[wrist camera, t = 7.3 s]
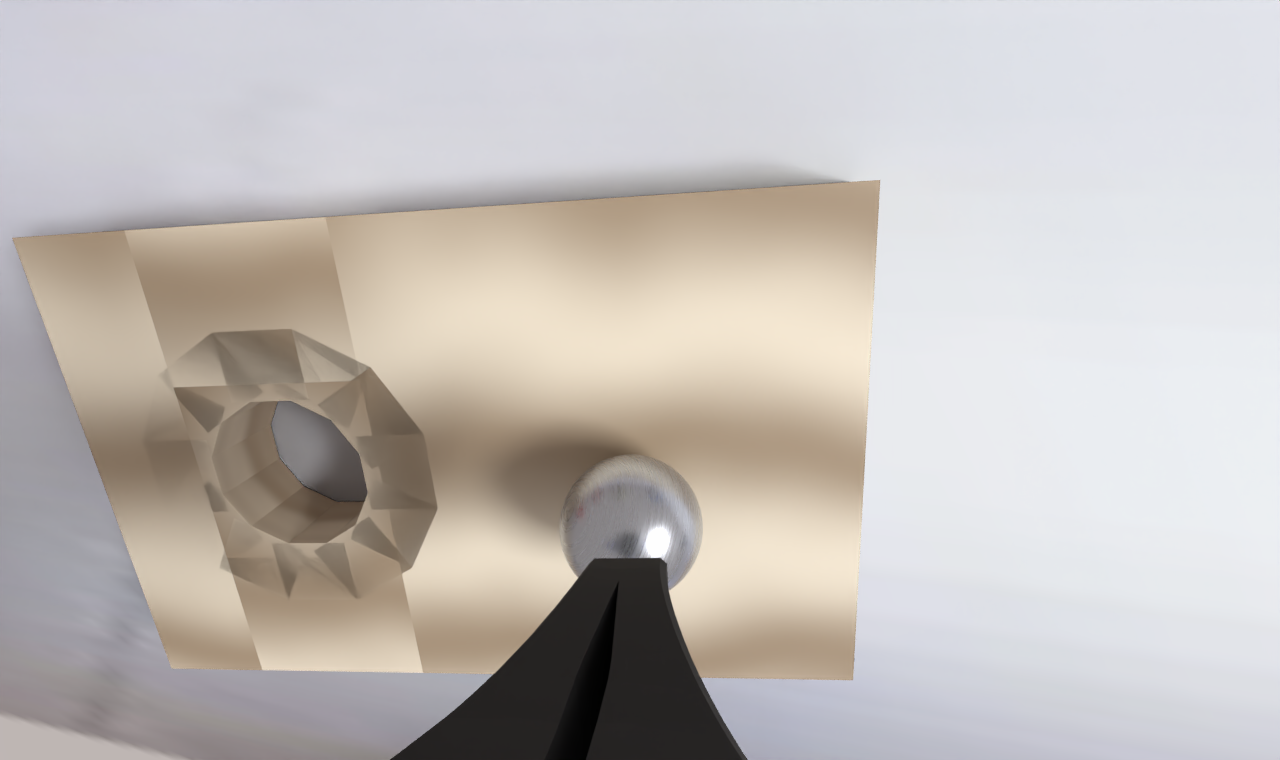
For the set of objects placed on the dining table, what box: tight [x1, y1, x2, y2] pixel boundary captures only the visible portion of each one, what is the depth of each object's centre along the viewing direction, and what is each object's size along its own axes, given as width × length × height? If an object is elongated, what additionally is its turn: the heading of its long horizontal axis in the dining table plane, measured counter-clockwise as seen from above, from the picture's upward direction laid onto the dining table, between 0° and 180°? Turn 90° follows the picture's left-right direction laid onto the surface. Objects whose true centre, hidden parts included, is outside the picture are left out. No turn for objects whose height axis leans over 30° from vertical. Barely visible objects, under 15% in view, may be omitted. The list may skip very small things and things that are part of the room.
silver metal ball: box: [559, 454, 703, 591], centre depth 15 cm, size 4×4×4 cm
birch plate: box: [12, 180, 880, 680], centre depth 18 cm, size 14×22×2 cm, turn 94°
